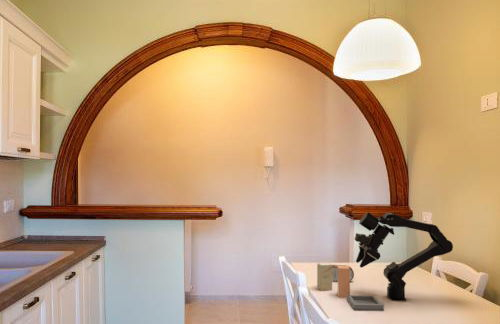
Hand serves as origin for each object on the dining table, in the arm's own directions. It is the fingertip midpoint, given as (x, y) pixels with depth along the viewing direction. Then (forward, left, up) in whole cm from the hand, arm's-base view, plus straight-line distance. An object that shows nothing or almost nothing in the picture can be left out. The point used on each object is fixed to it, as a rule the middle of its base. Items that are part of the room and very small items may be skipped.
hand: (358, 264), depth 161 cm
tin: (+4, -23, -15) cm, 28 cm away
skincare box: (+14, -10, -15) cm, 23 cm away
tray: (+1, +11, -15) cm, 18 cm away
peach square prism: (+7, -1, -15) cm, 16 cm away
